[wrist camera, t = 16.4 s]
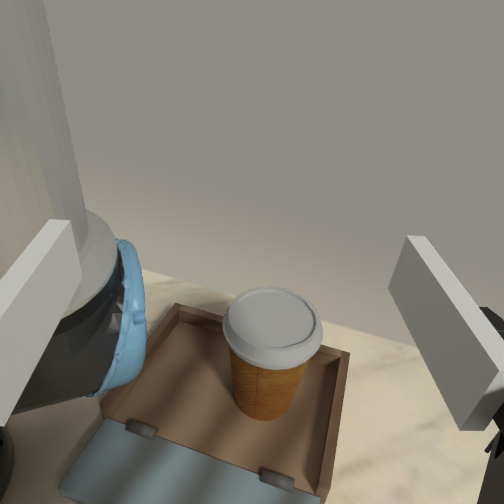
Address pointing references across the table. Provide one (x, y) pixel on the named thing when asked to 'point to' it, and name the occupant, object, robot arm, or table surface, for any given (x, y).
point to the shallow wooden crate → (208, 428)
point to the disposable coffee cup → (269, 348)
